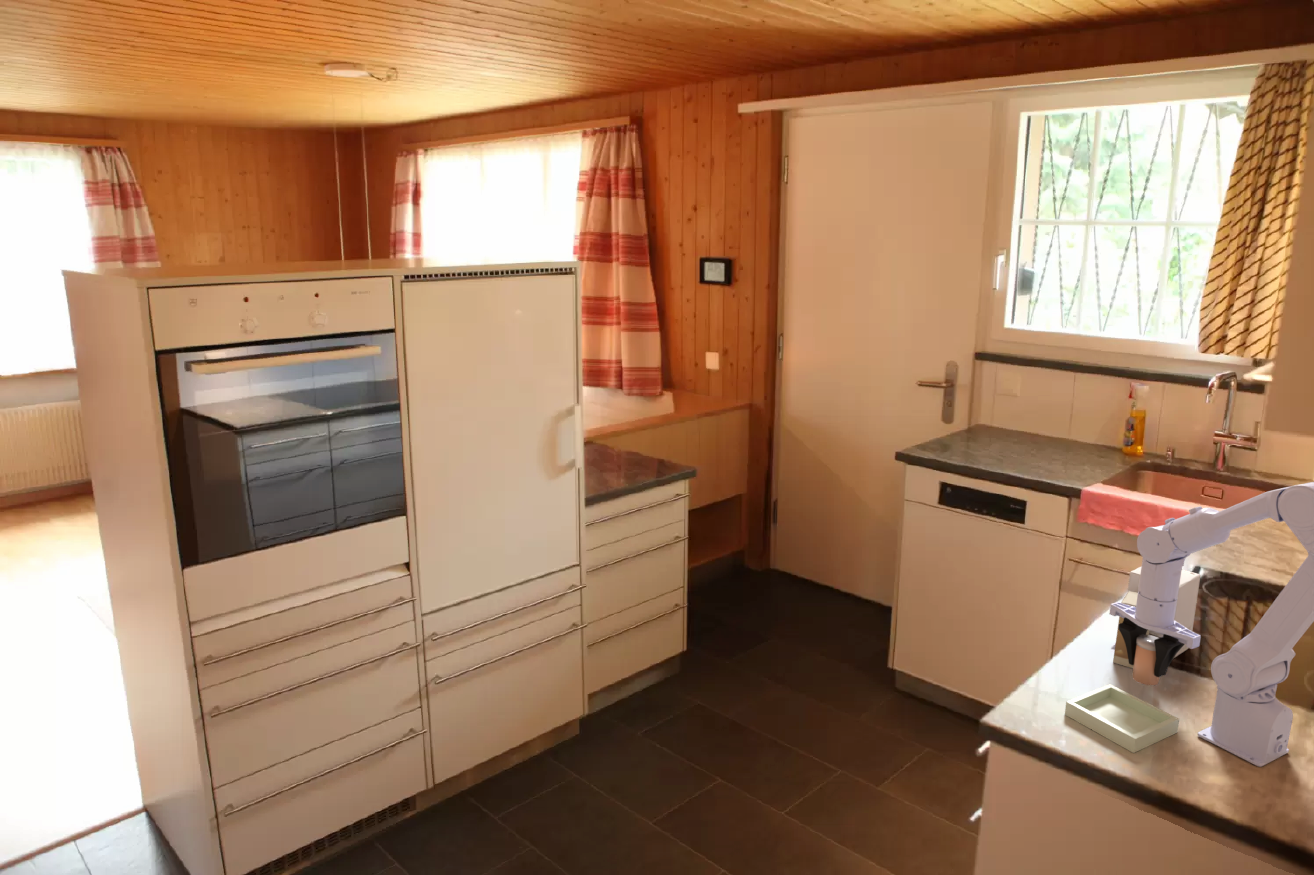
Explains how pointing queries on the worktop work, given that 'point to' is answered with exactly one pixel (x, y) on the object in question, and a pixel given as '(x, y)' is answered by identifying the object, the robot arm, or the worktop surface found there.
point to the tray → (1122, 717)
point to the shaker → (1145, 660)
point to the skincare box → (1120, 646)
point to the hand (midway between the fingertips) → (1146, 668)
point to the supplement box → (1184, 600)
